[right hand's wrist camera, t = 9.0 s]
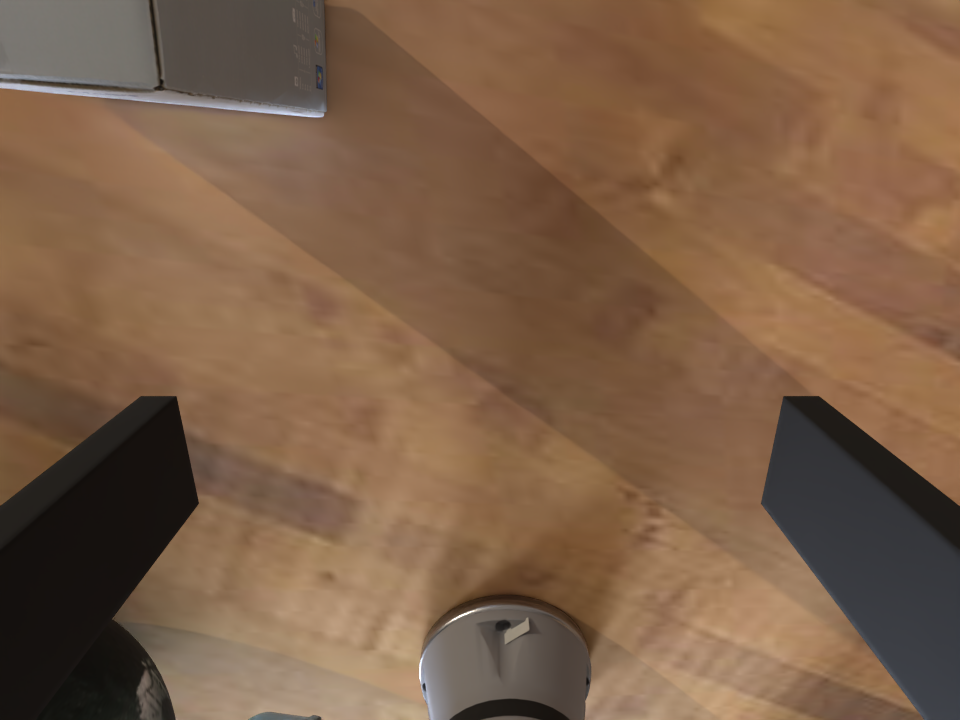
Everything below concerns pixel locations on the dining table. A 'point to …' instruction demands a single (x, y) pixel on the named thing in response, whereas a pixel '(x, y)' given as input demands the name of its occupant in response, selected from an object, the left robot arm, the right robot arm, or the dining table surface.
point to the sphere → (112, 683)
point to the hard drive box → (170, 51)
